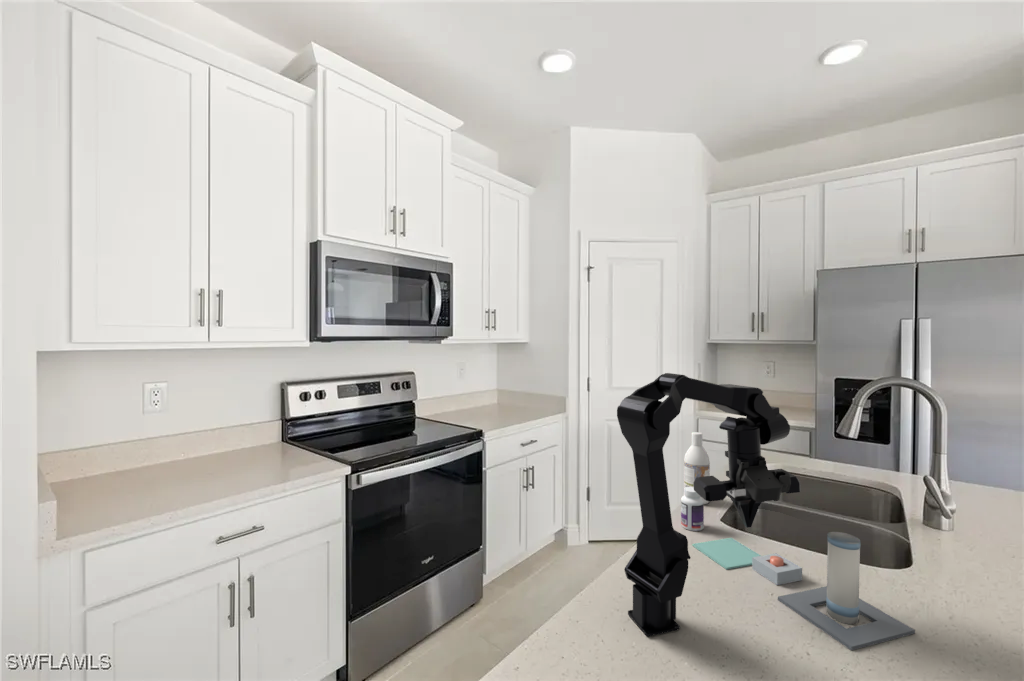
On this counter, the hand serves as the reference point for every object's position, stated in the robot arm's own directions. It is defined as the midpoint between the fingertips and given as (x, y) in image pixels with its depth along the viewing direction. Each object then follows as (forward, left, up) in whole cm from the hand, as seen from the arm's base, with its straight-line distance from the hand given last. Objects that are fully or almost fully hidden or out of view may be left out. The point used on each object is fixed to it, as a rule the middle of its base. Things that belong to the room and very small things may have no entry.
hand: (747, 526), depth 91 cm
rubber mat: (+6, +11, -12) cm, 17 cm away
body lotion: (+19, +40, -12) cm, 46 cm away
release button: (+9, +1, -11) cm, 14 cm away
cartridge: (+9, -13, -12) cm, 19 cm away
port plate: (+9, -13, -12) cm, 19 cm away
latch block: (+9, +1, -12) cm, 15 cm away
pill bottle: (+7, +25, -12) cm, 29 cm away
